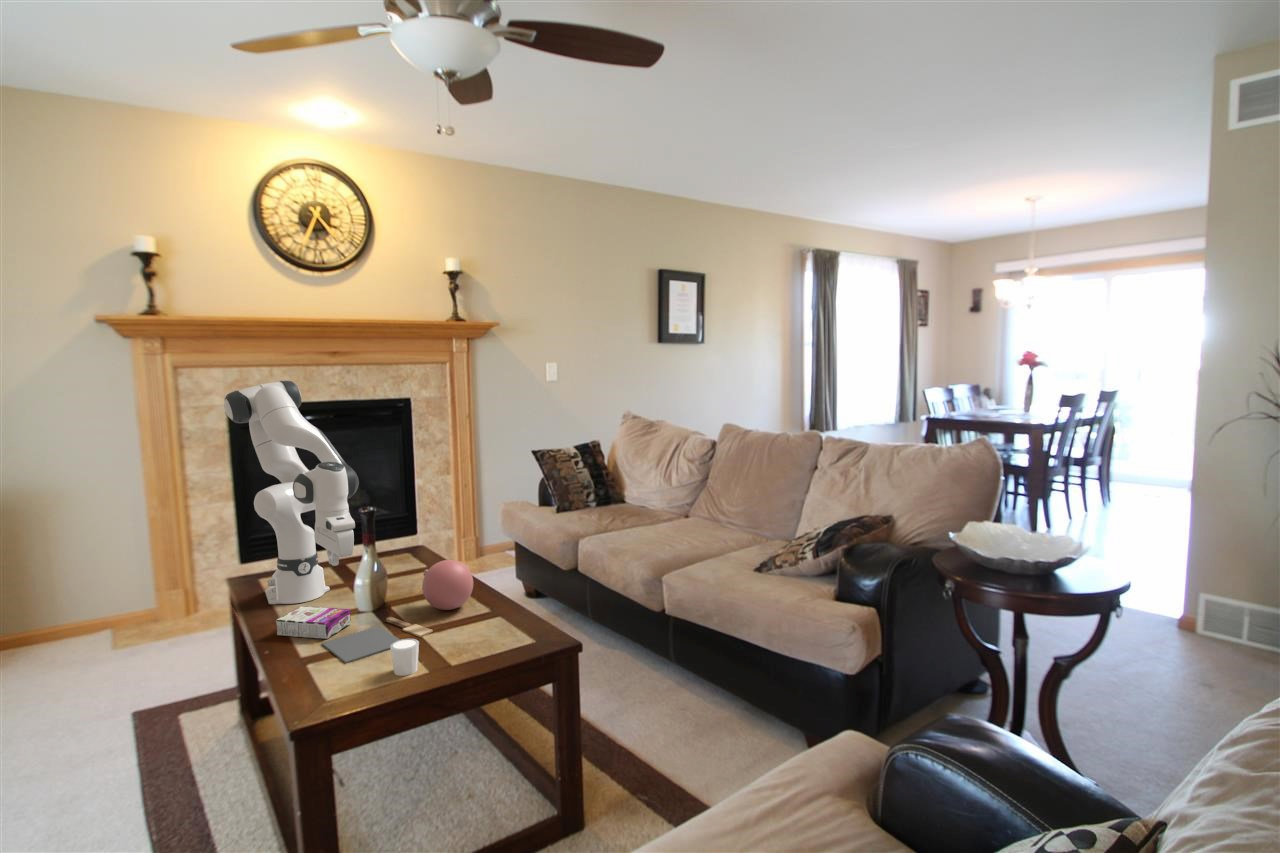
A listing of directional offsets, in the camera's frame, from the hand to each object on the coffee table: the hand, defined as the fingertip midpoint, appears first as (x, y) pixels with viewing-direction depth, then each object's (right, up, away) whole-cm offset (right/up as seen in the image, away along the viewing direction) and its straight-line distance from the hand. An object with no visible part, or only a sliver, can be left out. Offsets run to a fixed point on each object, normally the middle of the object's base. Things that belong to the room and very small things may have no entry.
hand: (333, 564), depth 194 cm
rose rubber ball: (+28, -17, +16) cm, 37 cm away
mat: (+14, -20, -12) cm, 26 cm away
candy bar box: (+3, -17, -3) cm, 17 cm away
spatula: (+22, -19, -1) cm, 29 cm away
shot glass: (+31, -21, -27) cm, 46 cm away
